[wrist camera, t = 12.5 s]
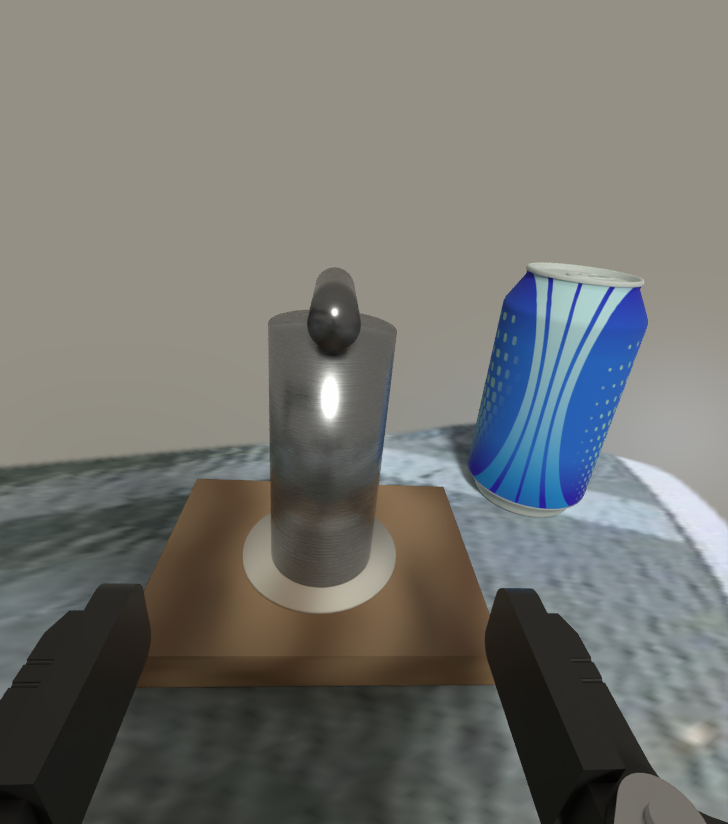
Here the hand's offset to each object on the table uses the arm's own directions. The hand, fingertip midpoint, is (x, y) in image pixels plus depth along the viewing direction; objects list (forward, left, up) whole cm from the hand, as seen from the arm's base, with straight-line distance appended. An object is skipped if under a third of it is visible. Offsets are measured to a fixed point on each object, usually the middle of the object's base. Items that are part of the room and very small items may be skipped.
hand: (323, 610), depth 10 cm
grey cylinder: (0, +11, -8) cm, 14 cm away
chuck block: (0, +11, -11) cm, 15 cm away
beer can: (+15, +20, -11) cm, 27 cm away
